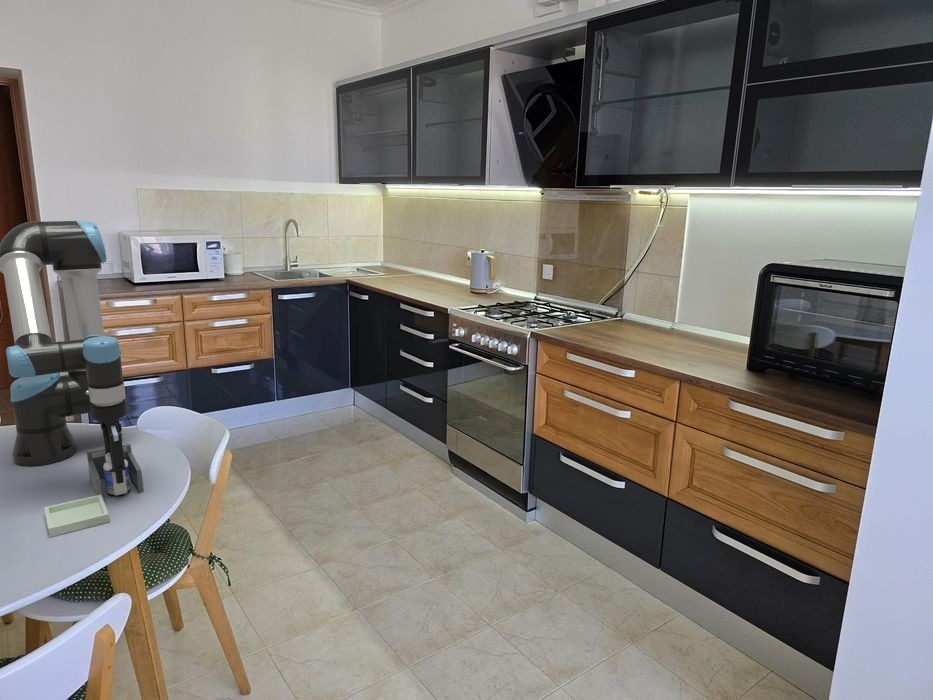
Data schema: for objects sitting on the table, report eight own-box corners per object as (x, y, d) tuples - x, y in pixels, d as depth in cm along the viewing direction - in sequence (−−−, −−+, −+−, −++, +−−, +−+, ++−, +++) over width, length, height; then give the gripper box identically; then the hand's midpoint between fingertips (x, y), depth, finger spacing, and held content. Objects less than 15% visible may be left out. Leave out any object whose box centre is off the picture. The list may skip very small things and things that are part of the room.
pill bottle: (120, 496, 156) (116, 459, 153) (101, 493, 157) (96, 457, 154) (135, 486, 161) (131, 450, 159) (117, 483, 162) (112, 448, 160)
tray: (45, 515, 147) (44, 507, 147) (102, 501, 154) (101, 494, 153) (49, 537, 138) (48, 529, 138) (109, 521, 145) (108, 514, 144)
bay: (90, 480, 164) (86, 452, 163) (133, 471, 170) (130, 443, 168) (98, 502, 154) (94, 471, 152) (143, 491, 159) (140, 462, 157)
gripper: (85, 393, 158) (96, 478, 164) (95, 415, 144) (107, 508, 150) (118, 388, 162) (128, 471, 168) (132, 409, 148) (142, 499, 154)
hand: (118, 488), depth 159 cm, fingers closed on pill bottle, 5 cm apart
